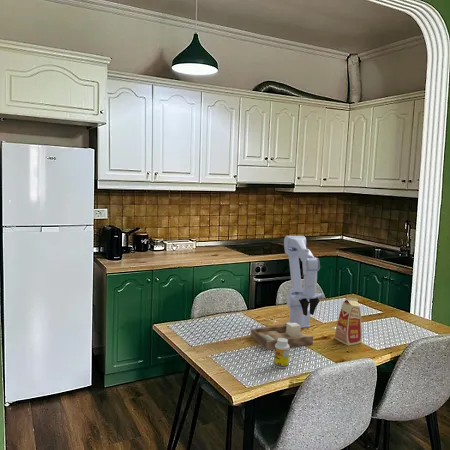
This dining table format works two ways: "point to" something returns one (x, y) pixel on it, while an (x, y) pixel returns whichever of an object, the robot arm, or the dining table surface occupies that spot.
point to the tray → (271, 334)
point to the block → (293, 329)
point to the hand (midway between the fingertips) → (308, 314)
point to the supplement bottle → (281, 353)
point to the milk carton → (349, 323)
